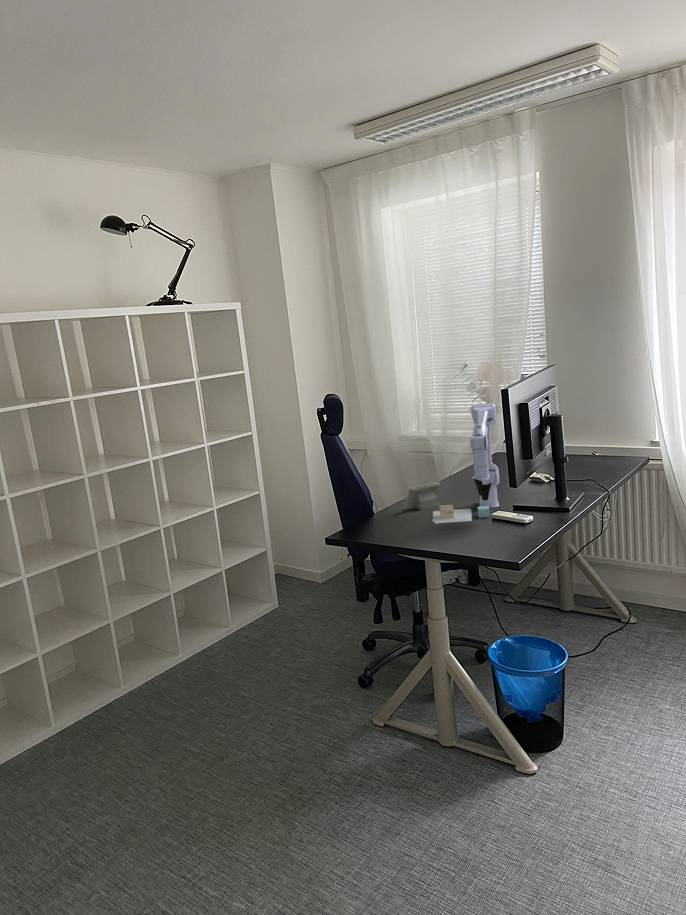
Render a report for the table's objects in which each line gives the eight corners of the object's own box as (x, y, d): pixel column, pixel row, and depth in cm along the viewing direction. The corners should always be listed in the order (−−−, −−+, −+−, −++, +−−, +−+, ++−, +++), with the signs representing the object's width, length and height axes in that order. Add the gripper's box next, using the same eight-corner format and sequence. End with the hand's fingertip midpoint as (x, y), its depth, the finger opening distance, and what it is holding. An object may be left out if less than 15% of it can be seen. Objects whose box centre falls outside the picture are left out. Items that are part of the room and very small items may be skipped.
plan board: (433, 512, 307) (433, 511, 307) (470, 509, 304) (470, 508, 304) (432, 524, 289) (432, 523, 289) (472, 521, 287) (472, 520, 286)
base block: (440, 514, 300) (439, 505, 299) (453, 513, 299) (453, 504, 298) (440, 518, 295) (439, 509, 294) (453, 517, 294) (453, 508, 293)
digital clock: (438, 502, 322) (436, 479, 320) (446, 506, 313) (443, 483, 311) (404, 508, 318) (402, 485, 316) (411, 513, 310) (408, 489, 308)
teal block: (478, 515, 294) (477, 506, 293) (489, 515, 293) (488, 505, 293) (478, 519, 290) (477, 509, 289) (489, 518, 289) (489, 508, 288)
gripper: (468, 462, 293) (470, 494, 296) (474, 470, 279) (476, 503, 282) (485, 460, 293) (487, 492, 296) (491, 468, 279) (494, 501, 281)
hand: (483, 497), depth 289 cm, fingers open, 7 cm apart
